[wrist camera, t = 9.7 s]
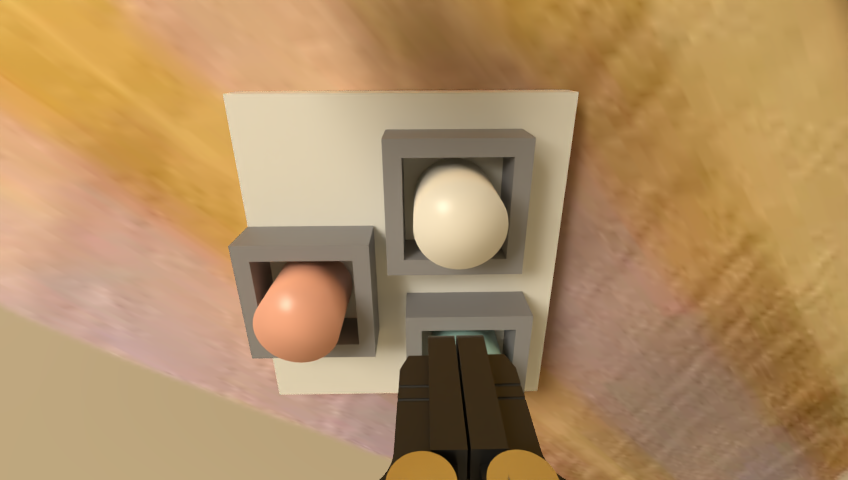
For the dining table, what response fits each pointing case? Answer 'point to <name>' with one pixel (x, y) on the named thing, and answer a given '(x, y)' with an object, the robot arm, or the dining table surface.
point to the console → (398, 219)
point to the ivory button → (458, 215)
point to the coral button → (304, 310)
